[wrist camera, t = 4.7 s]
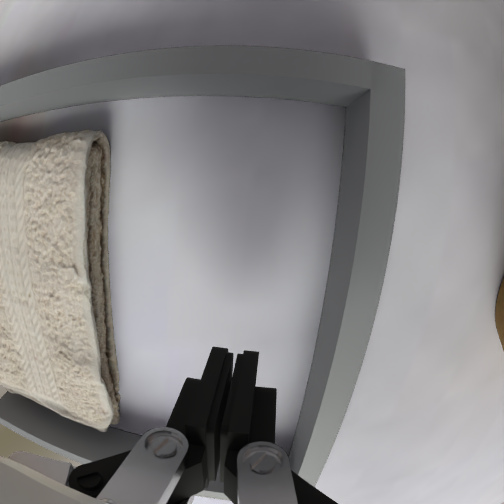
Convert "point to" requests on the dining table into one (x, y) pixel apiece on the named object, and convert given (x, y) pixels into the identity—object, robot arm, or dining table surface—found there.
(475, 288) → the dining table surface
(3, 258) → the washcloth
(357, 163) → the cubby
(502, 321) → the plant pot
